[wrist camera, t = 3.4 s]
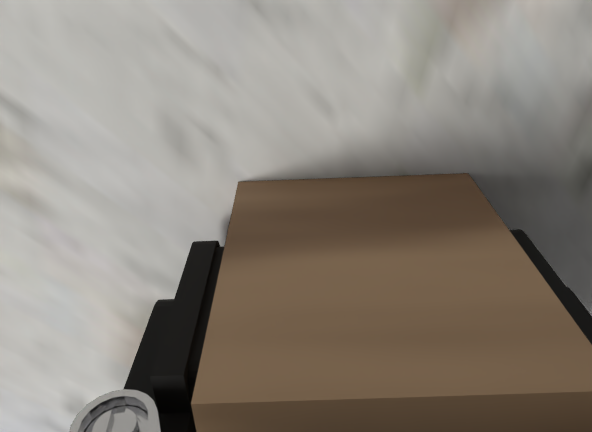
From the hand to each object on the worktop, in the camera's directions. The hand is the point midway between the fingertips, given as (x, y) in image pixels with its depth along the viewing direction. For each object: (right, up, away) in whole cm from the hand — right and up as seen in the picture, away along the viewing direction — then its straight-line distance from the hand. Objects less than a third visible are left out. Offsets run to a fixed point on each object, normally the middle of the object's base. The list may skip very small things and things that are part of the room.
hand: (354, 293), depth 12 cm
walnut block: (0, 0, +1) cm, 1 cm away
